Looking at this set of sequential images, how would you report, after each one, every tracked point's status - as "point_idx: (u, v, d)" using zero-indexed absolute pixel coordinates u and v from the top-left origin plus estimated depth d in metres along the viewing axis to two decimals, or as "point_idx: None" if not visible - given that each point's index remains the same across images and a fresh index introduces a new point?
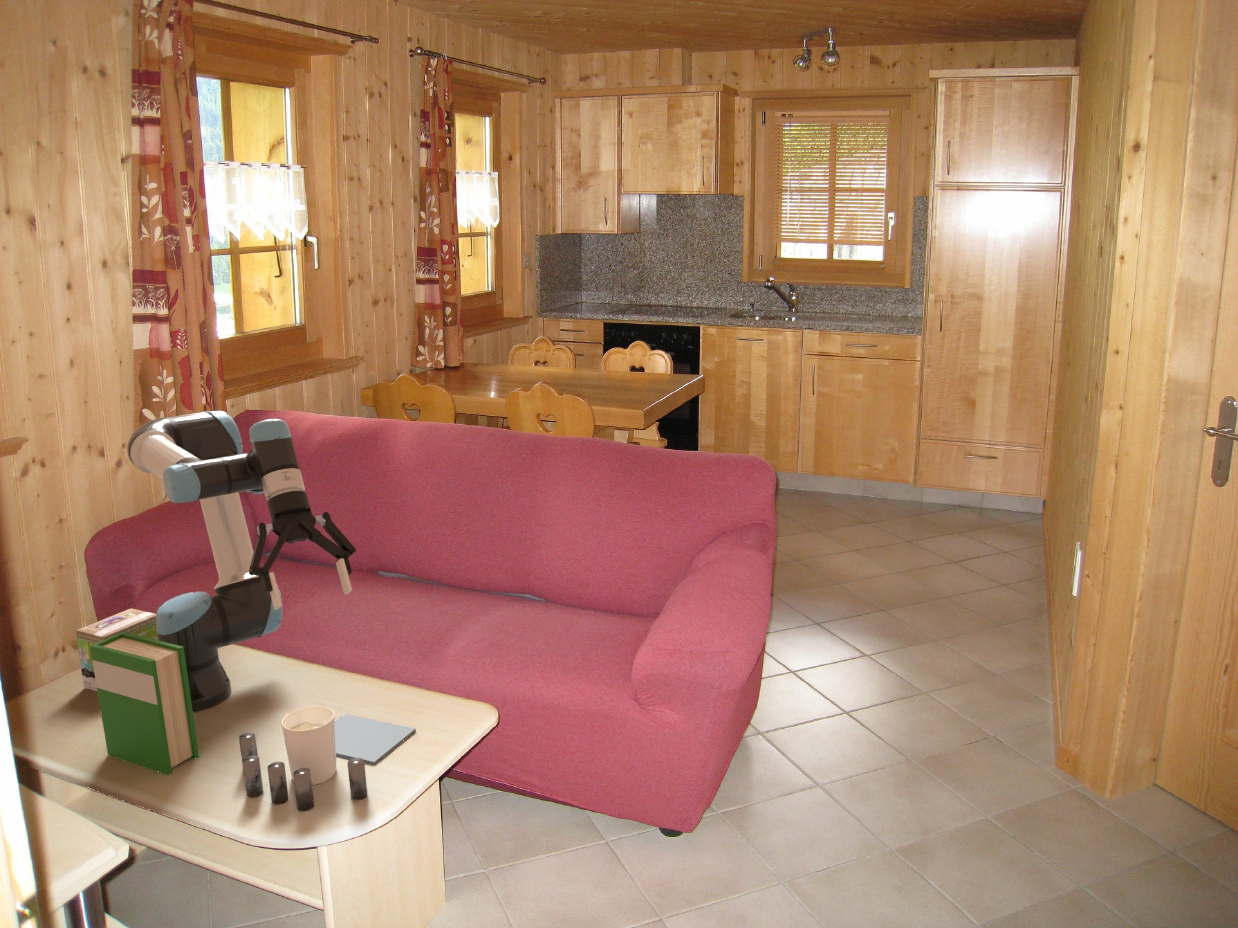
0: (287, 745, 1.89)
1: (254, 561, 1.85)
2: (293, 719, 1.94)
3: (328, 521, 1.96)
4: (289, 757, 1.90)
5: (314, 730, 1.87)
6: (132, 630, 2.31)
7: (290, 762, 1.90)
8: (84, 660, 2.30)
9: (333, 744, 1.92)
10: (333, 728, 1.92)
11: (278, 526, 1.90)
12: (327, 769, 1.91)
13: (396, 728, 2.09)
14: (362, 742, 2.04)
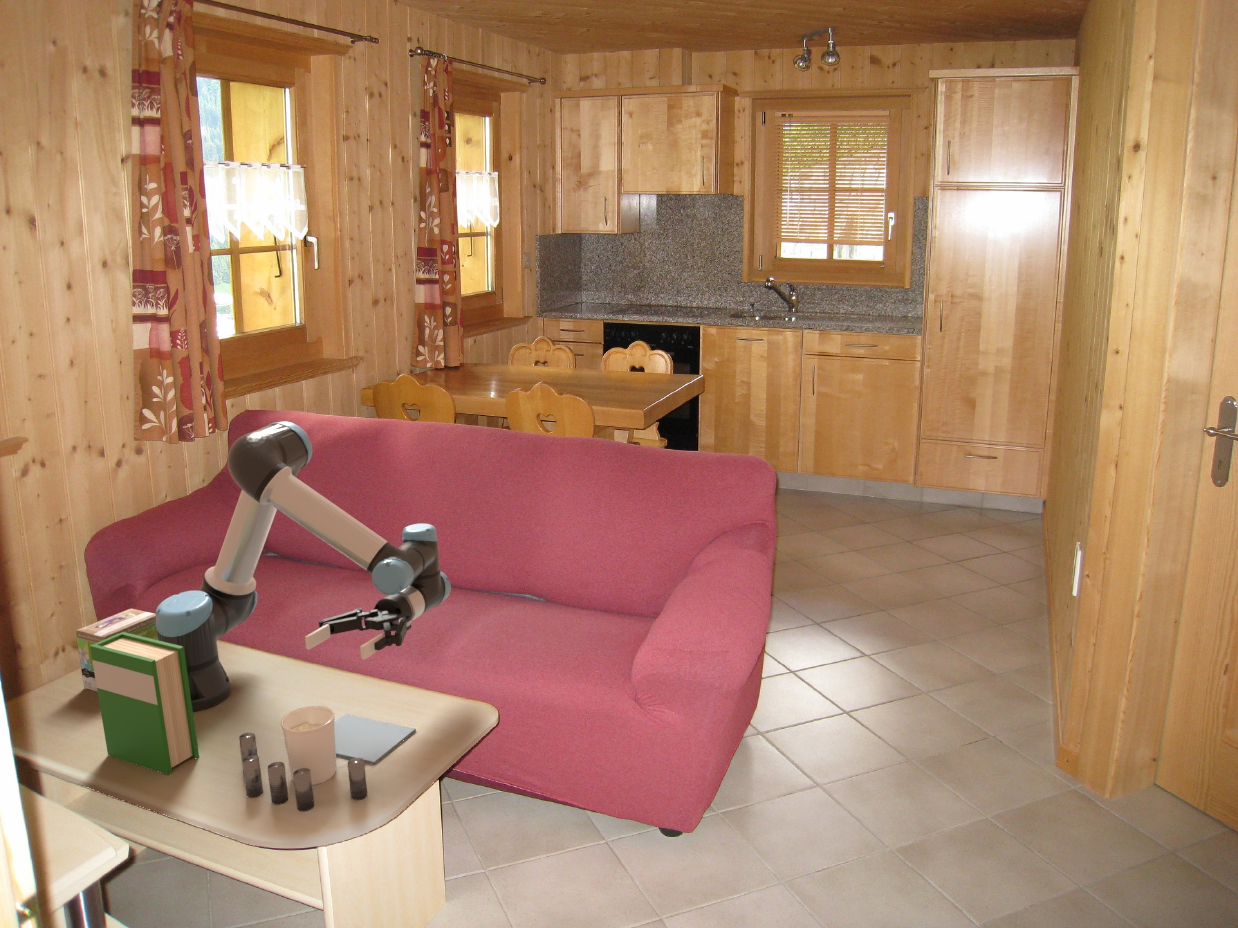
0: (287, 745, 1.89)
1: None
2: (293, 719, 1.94)
3: None
4: (289, 757, 1.90)
5: (314, 730, 1.87)
6: (132, 630, 2.31)
7: (290, 762, 1.90)
8: (84, 660, 2.30)
9: (333, 744, 1.92)
10: (333, 728, 1.92)
11: None
12: (327, 769, 1.91)
13: (396, 728, 2.09)
14: (362, 742, 2.04)
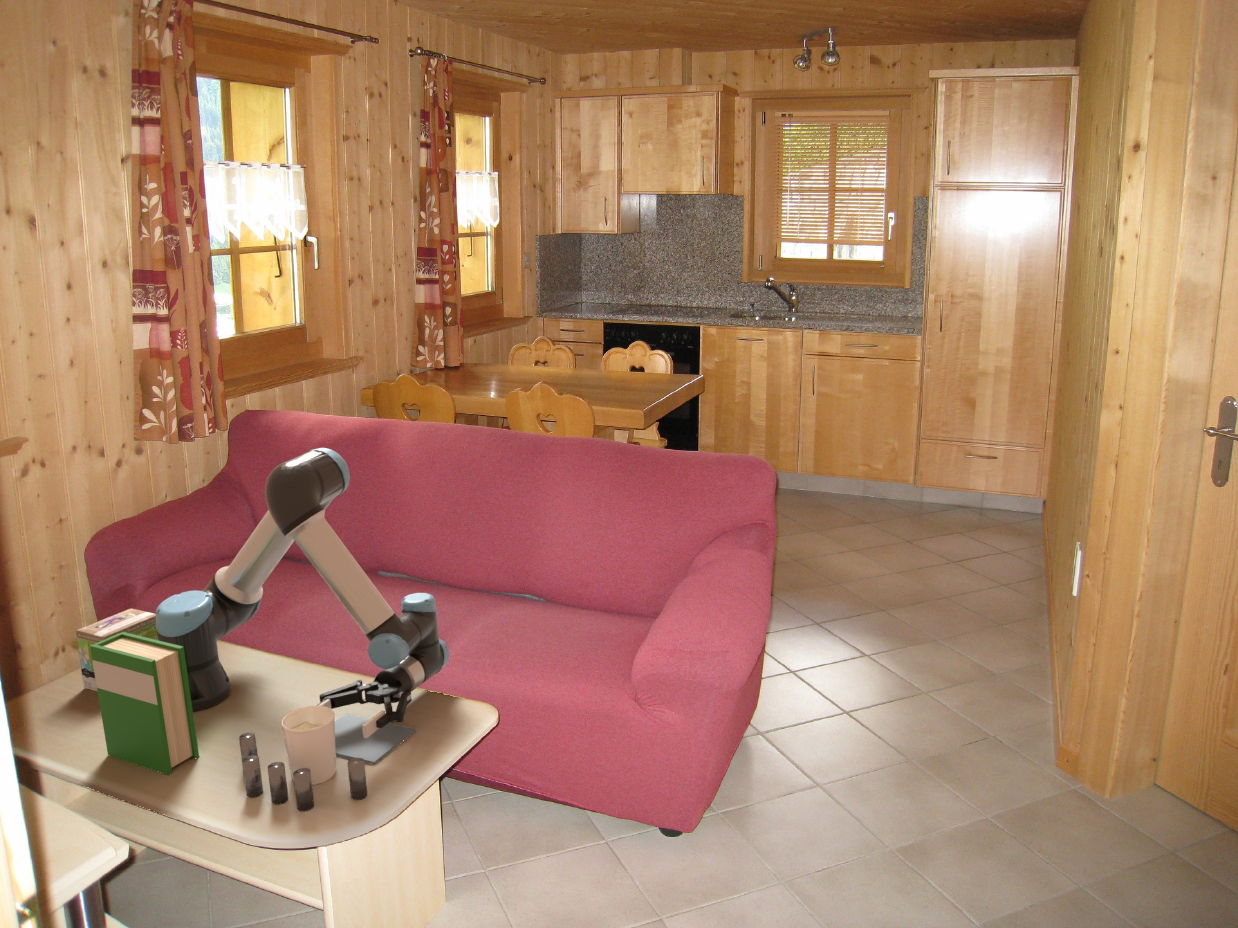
0: (287, 745, 1.89)
1: None
2: (293, 719, 1.94)
3: None
4: (289, 757, 1.90)
5: (314, 730, 1.87)
6: (132, 630, 2.31)
7: (290, 762, 1.90)
8: (84, 660, 2.30)
9: (333, 744, 1.92)
10: (333, 728, 1.92)
11: None
12: (327, 769, 1.91)
13: (396, 728, 2.09)
14: (362, 742, 2.04)
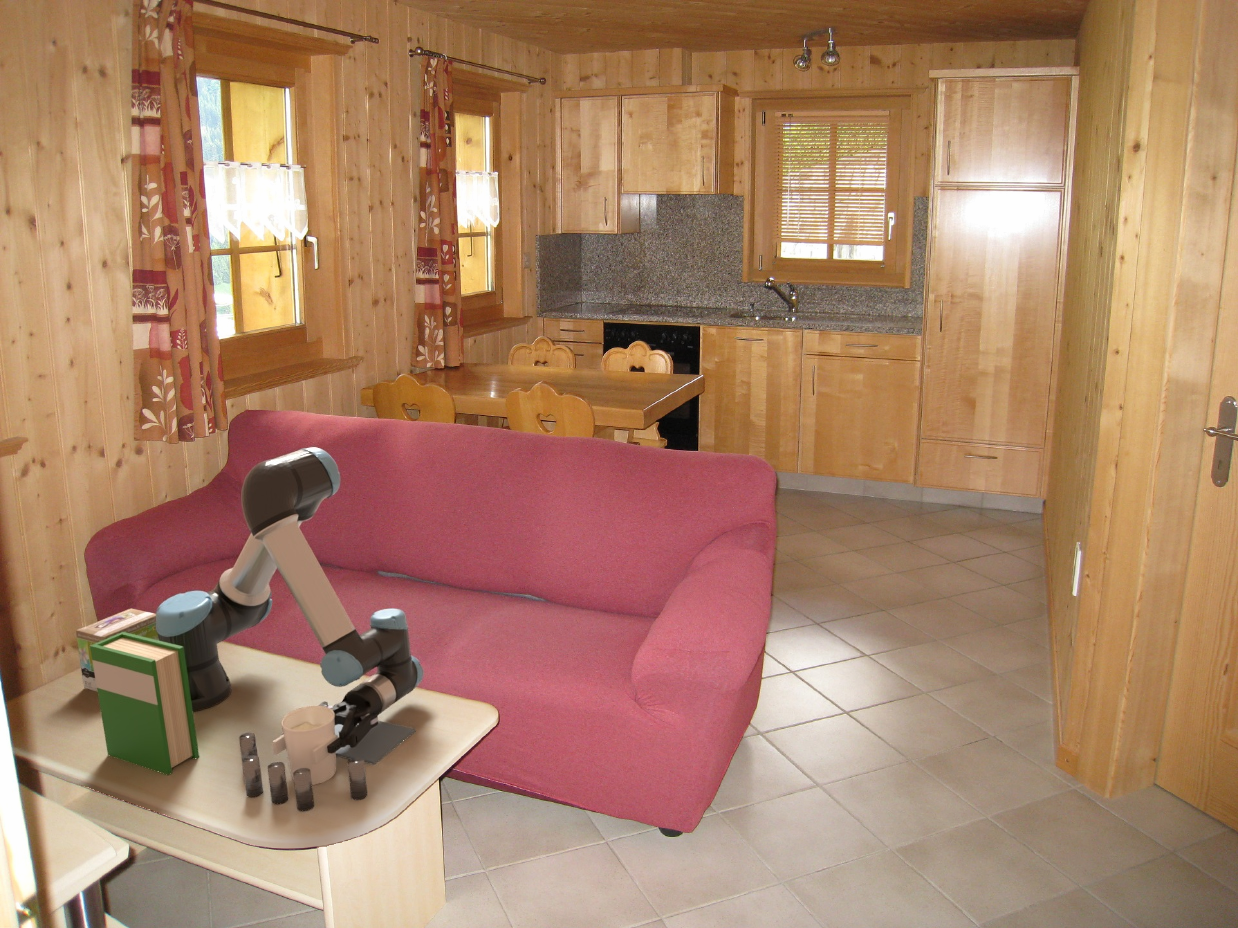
0: (287, 745, 1.89)
1: None
2: (293, 719, 1.94)
3: None
4: (289, 757, 1.90)
5: (314, 730, 1.87)
6: (132, 630, 2.31)
7: (290, 762, 1.90)
8: (84, 660, 2.30)
9: None
10: (333, 728, 1.92)
11: None
12: (327, 769, 1.91)
13: (396, 728, 2.09)
14: (362, 742, 2.04)
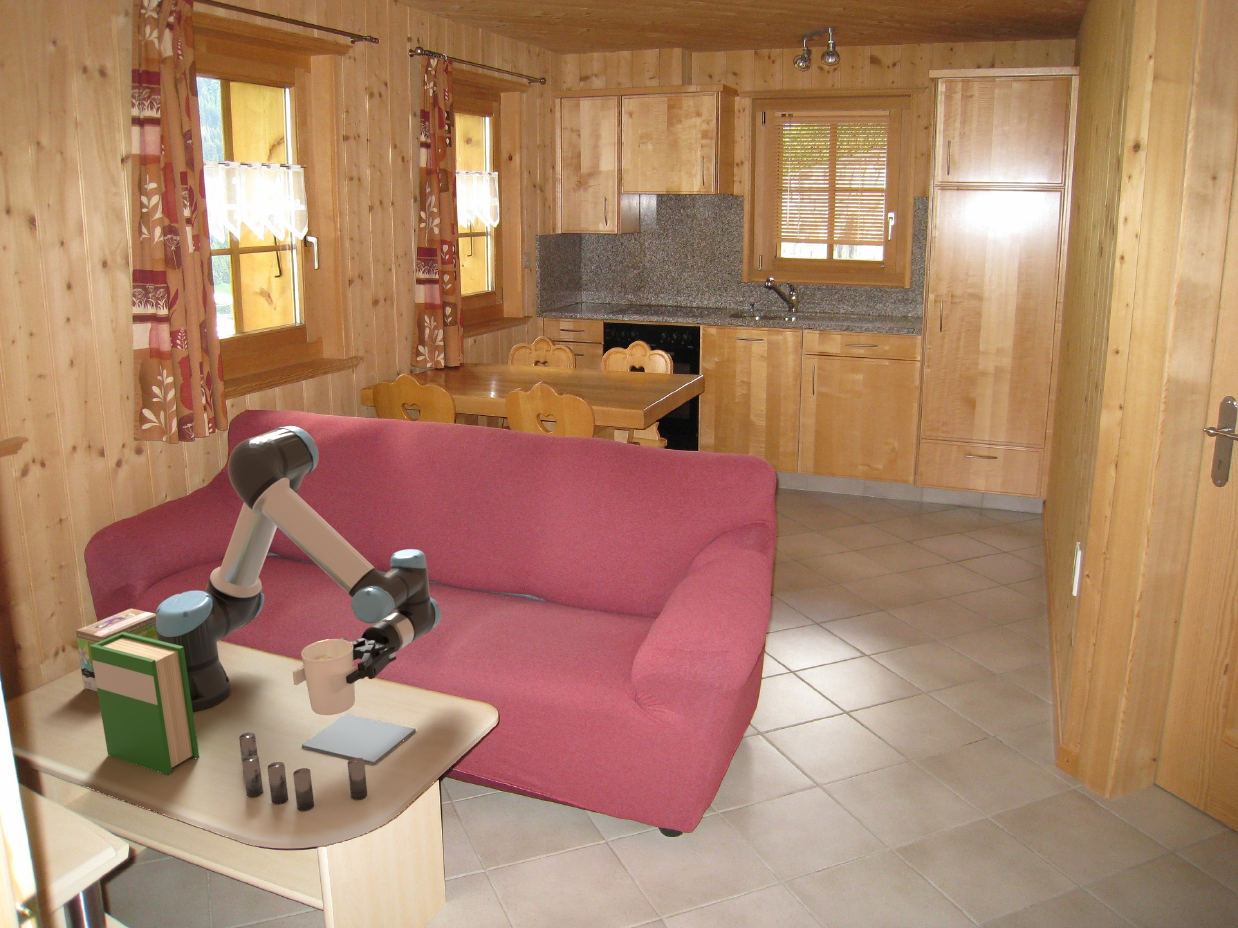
0: (307, 675, 1.93)
1: None
2: (313, 651, 1.98)
3: None
4: (309, 687, 1.94)
5: (333, 660, 1.91)
6: (132, 630, 2.31)
7: (310, 692, 1.94)
8: (84, 660, 2.30)
9: None
10: (352, 660, 1.95)
11: None
12: (346, 700, 1.95)
13: (396, 728, 2.09)
14: (362, 742, 2.04)
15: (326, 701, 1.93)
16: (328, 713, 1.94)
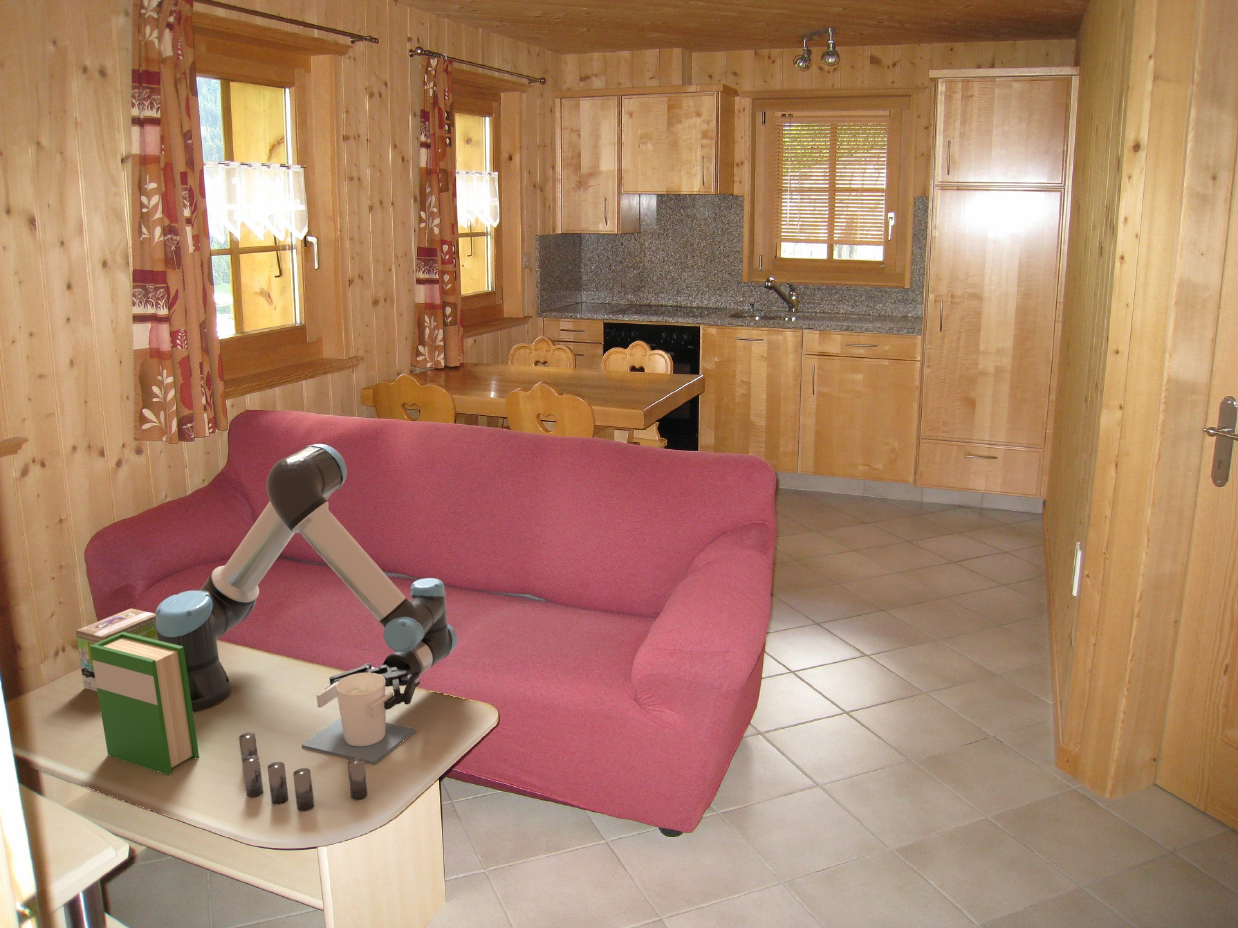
0: (341, 708, 2.01)
1: None
2: (346, 685, 2.07)
3: None
4: (343, 719, 2.02)
5: (367, 694, 2.00)
6: (132, 630, 2.31)
7: (343, 724, 2.02)
8: (84, 660, 2.30)
9: None
10: (384, 693, 2.04)
11: None
12: (378, 731, 2.03)
13: (396, 728, 2.09)
14: None
15: (360, 733, 2.01)
16: (361, 744, 2.02)
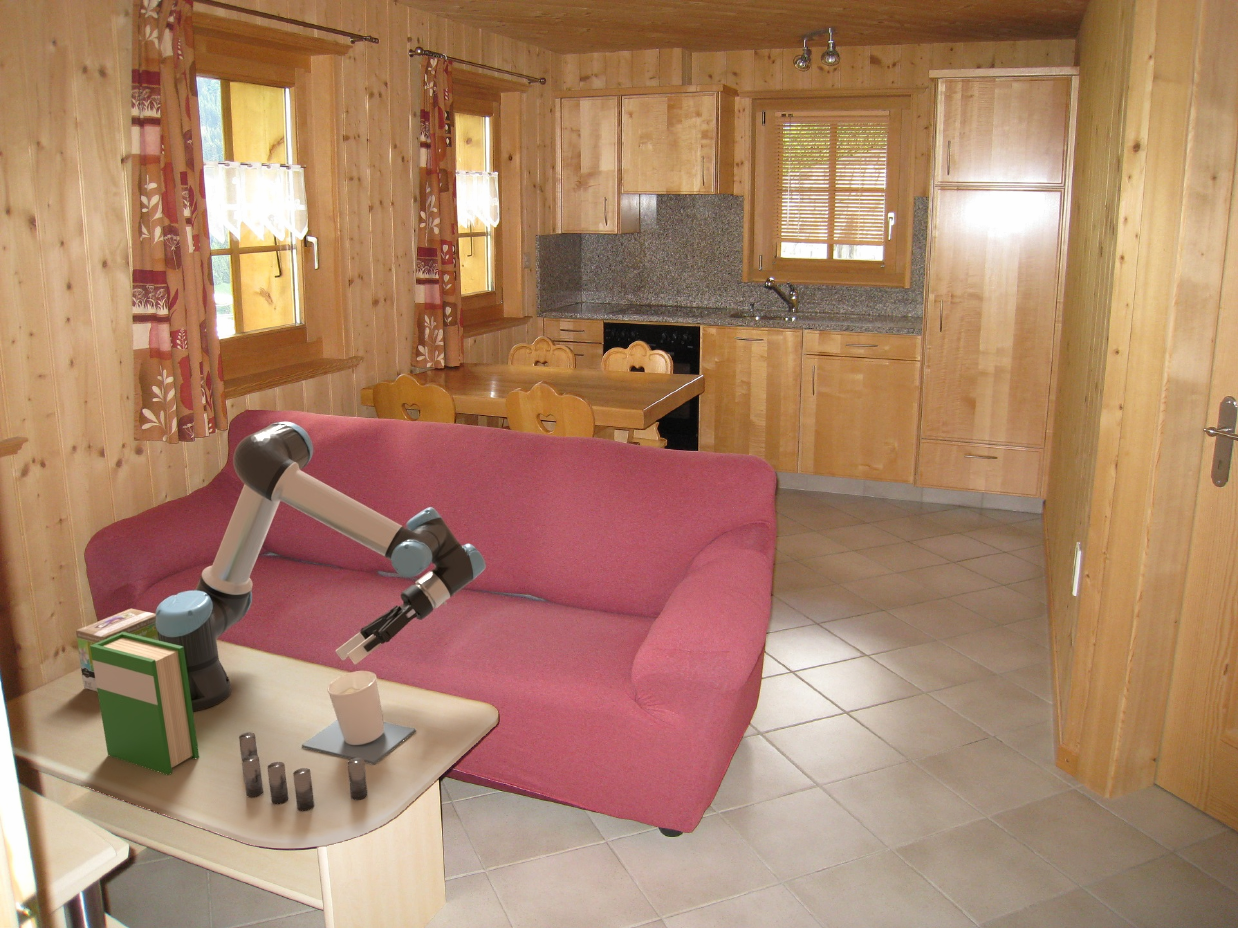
0: (336, 709, 2.01)
1: None
2: (338, 686, 2.06)
3: None
4: (339, 720, 2.02)
5: (359, 692, 1.99)
6: (132, 630, 2.31)
7: (341, 725, 2.02)
8: (84, 660, 2.30)
9: (378, 704, 2.04)
10: (376, 689, 2.04)
11: None
12: (376, 728, 2.03)
13: (396, 728, 2.09)
14: None
15: (357, 731, 2.01)
16: (361, 742, 2.02)
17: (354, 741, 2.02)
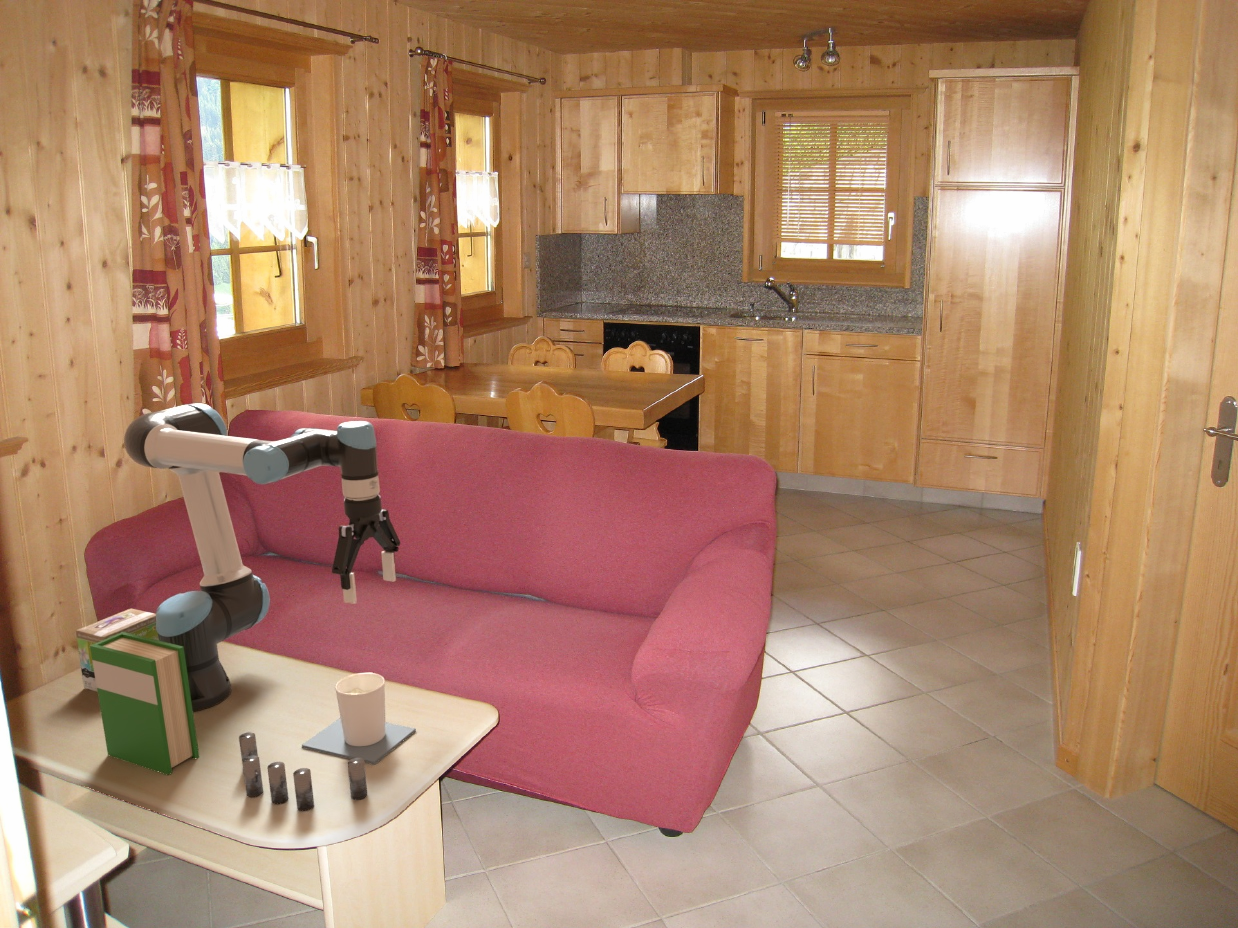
0: (341, 708, 2.01)
1: (343, 565, 2.04)
2: (345, 685, 2.06)
3: (387, 519, 2.16)
4: (342, 720, 2.02)
5: (367, 694, 2.00)
6: (132, 630, 2.31)
7: (343, 725, 2.02)
8: (84, 660, 2.30)
9: (383, 708, 2.04)
10: (383, 693, 2.04)
11: (358, 528, 2.07)
12: (378, 731, 2.04)
13: (396, 728, 2.09)
14: None
15: (360, 733, 2.02)
16: (361, 744, 2.02)
17: (355, 742, 2.02)
